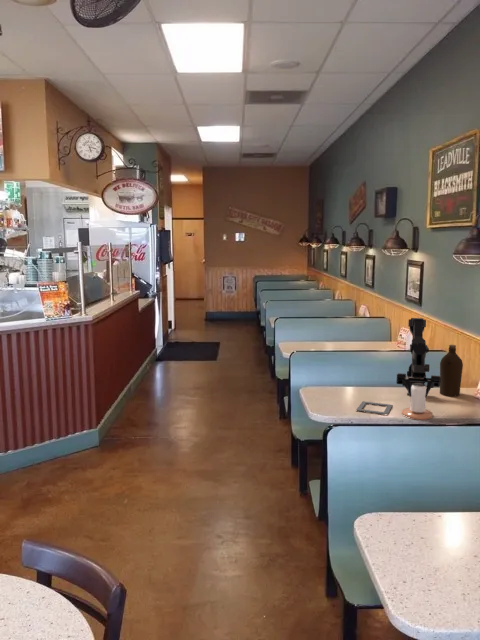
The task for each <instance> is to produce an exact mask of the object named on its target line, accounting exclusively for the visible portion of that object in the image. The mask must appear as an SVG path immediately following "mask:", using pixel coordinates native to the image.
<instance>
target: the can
mask: <svg viewBox="0 0 480 640" xmlns="http://www.w3.org/2000/svg"><path fill="white" fill-rule="evenodd" d="M426 388H427V386H426V383H424V384H422V383H413V384H412V386H411V397H410V396H409V397H410V403H409V408H410V410H411V411H412V412H416V413H422V412H424V411H425V409H426V404H427V403H426V401H427V397H426V398H425V396H426Z"/></svg>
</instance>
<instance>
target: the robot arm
mask: <svg viewBox="0 0 480 640" xmlns="http://www.w3.org/2000/svg"><path fill="white" fill-rule="evenodd" d="M407 323H408V324H407V326H408V328H409V332H410V334H411V336H412V338H411V344H409V353H410V354H411V363H410V365H409V366H408V369H407V371H406V373H400V372H398V373H397V374H396V385H402V386H403V387H405V389H406V390H407V393H406V395H407V396H409V397H411V386H412V384H413V383H422V384H426V396H425V398H426V399H427V397H428V394H429V393H430V391H431V390H432V389H434V387H435V388H440V382H441V377H440V375H431V376H430V377H427V375H426V372H427V373H428V372H430V364H427V363H426V358H427V357H426V356H427V353H428V352H429V351H430V349H429V346H428V344H427V342H426V340H425V338H424V336H423V335H424V334H423V333H424V331H425V328H427V320H426V319H425V318H422V317H411V318H409V319H408V322H407Z"/></svg>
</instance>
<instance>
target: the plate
mask: <svg viewBox="0 0 480 640" xmlns="http://www.w3.org/2000/svg"><path fill="white" fill-rule="evenodd" d="M402 414H403V415H405V416H407V417H410V418H412V419H411V420H416V421H417V420H418V421H425V420H430V418H431V417H432V418H433V415H434V414H433V412H432V411H431V410H428V409H426V408H425V411H424V412H422V413H416V412H412V411H411V410H410V407H406V408H403V409H402V410H401V415H402ZM403 415H402V416H403ZM405 416H404V417H405ZM407 417H406V418H407ZM410 418H409V419H410ZM432 418H431V419H432Z"/></svg>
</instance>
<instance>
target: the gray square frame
mask: <svg viewBox="0 0 480 640" xmlns="http://www.w3.org/2000/svg"><path fill="white" fill-rule="evenodd" d="M365 404H366V405H369V404H372V405H371V406H377V405H379V407H385V406H387V407H386V408H385V409H384V411H378V410H372V409H371V410H370V409H364V408H365V406H366V405H365ZM363 407H364V408H363ZM362 408H363V409H362ZM392 408H393V404H388V403H387V404H386V403H381V402H372V401H365V400H362V402H360V404H359V405H358V407H357V408H355V409H356V410H357V411H356V410H355V411H356V412H358V411H365V412H364V413H366V412H371V413H370V414H373V413H377V414H376V415H381V414H389V413H390V412H391V410H390V409H392ZM389 411H390V412H389Z"/></svg>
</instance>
